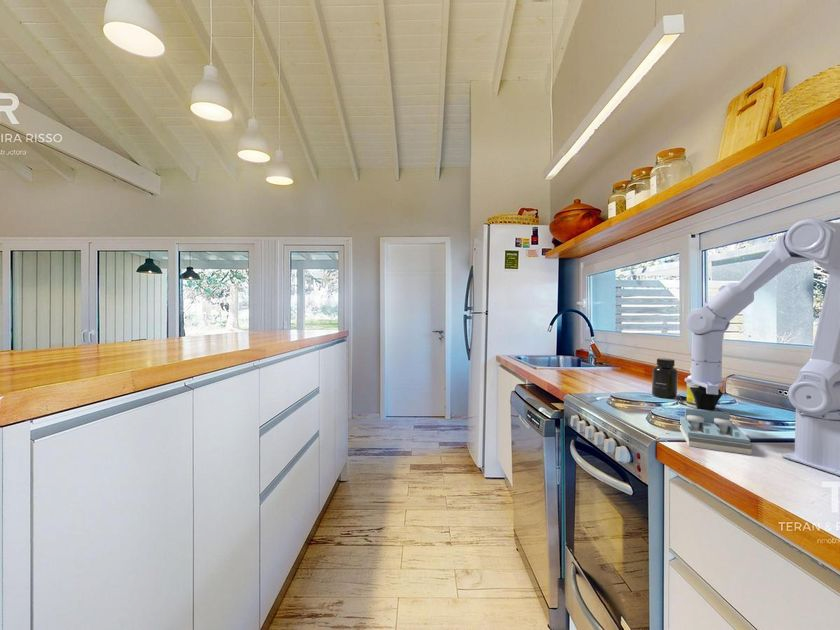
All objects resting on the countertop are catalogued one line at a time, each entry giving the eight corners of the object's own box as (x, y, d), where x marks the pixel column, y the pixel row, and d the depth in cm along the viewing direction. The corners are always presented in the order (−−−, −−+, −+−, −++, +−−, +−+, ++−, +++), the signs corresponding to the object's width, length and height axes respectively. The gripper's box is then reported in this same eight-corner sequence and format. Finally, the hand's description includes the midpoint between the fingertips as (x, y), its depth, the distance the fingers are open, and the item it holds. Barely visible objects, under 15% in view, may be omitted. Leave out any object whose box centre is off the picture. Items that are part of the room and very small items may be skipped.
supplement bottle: (655, 398, 122) (656, 359, 122) (649, 393, 129) (650, 357, 129) (680, 399, 120) (681, 361, 120) (673, 395, 127) (673, 358, 127)
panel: (750, 446, 76) (750, 427, 76) (688, 438, 80) (688, 420, 80) (733, 429, 86) (733, 412, 86) (679, 422, 91) (680, 407, 91)
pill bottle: (704, 404, 114) (705, 367, 114) (718, 410, 108) (719, 370, 108) (681, 404, 115) (682, 366, 114) (694, 409, 108) (695, 370, 108)
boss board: (751, 454, 75) (752, 435, 75) (688, 445, 79) (689, 427, 79) (725, 426, 93) (725, 410, 92) (675, 420, 97) (675, 405, 97)
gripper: (680, 356, 98) (679, 410, 98) (690, 363, 85) (689, 425, 85) (715, 358, 95) (714, 413, 95) (731, 366, 82) (729, 430, 82)
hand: (705, 419), depth 90 cm, fingers closed
